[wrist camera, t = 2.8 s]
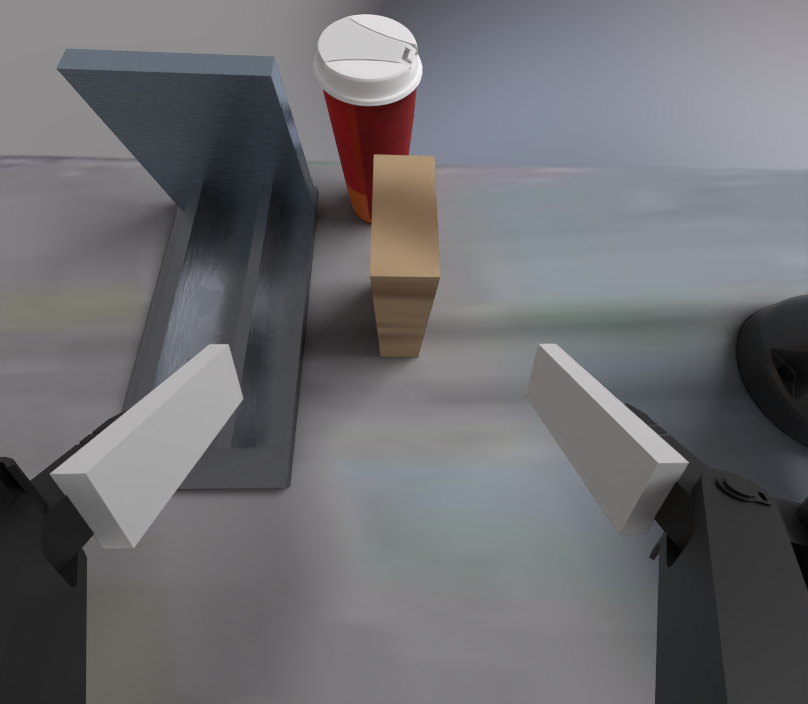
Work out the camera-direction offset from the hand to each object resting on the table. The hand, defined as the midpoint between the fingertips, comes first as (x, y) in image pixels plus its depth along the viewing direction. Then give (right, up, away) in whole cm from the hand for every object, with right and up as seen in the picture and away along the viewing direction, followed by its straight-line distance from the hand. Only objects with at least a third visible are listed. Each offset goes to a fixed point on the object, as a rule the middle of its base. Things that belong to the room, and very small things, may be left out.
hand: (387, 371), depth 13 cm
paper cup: (-2, +17, +21) cm, 27 cm away
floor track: (-16, +4, +16) cm, 23 cm away
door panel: (0, +4, +16) cm, 17 cm away
